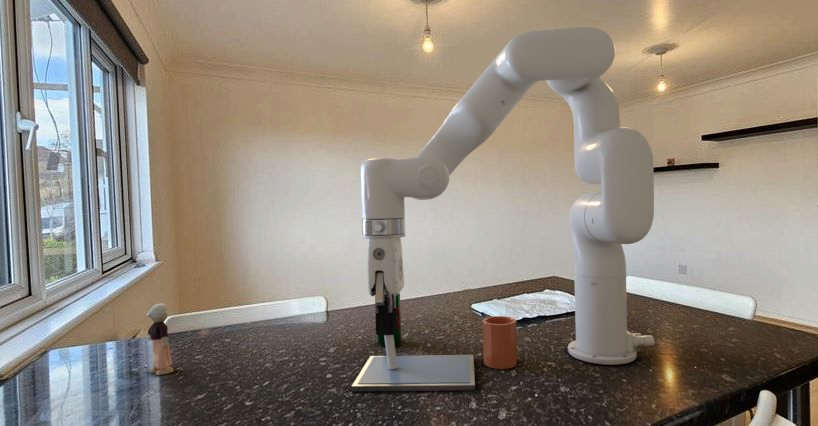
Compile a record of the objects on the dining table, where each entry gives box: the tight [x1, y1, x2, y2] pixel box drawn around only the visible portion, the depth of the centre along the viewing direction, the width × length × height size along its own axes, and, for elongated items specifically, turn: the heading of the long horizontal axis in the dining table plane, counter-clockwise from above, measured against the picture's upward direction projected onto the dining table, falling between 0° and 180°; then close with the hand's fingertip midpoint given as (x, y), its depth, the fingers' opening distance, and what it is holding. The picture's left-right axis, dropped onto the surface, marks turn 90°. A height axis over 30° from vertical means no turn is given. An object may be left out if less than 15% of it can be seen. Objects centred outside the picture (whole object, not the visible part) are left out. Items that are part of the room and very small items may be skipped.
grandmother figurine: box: [145, 303, 175, 376], centre depth 81 cm, size 8×4×13 cm, turn 65°
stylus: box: [384, 300, 397, 369], centre depth 76 cm, size 2×2×12 cm
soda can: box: [377, 292, 402, 348], centre depth 93 cm, size 5×5×12 cm
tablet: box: [351, 354, 476, 393], centre depth 76 cm, size 20×14×1 cm
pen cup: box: [482, 315, 518, 370], centre depth 80 cm, size 6×6×8 cm
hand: (386, 332), depth 76 cm, fingers closed on stylus, 1 cm apart
